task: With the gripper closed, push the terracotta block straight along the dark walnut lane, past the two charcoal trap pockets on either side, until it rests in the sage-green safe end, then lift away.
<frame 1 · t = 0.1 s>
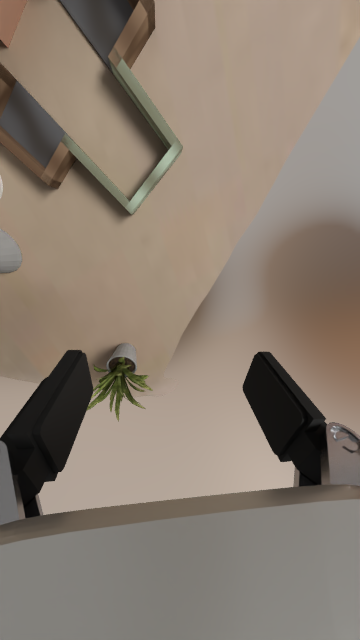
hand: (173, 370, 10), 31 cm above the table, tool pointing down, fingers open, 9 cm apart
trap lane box: (59, 69, 23), on the table
house plant: (124, 353, 48), on the table
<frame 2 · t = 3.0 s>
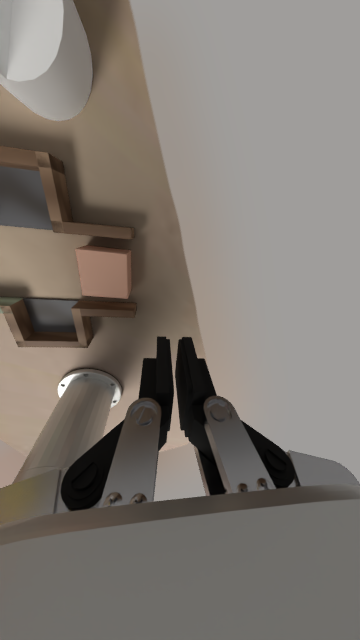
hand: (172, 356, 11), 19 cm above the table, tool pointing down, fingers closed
terracotta block: (111, 268, 26), on the table
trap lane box: (50, 267, 25), on the table
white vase: (42, 53, 16), on the table
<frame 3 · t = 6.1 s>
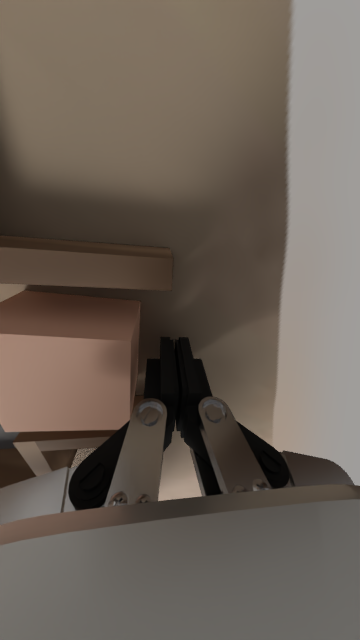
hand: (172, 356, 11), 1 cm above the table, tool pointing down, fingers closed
terracotta block: (91, 339, 11), on the table
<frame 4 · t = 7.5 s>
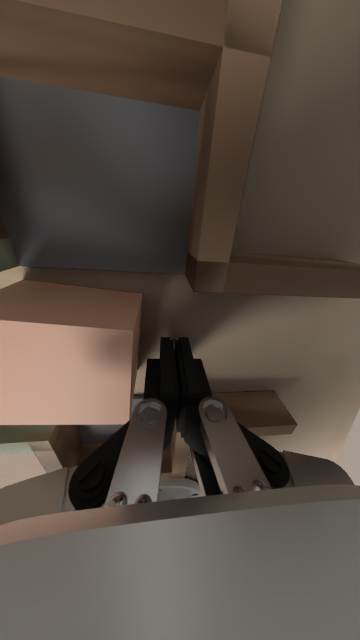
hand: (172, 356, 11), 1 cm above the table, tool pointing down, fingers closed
terracotta block: (90, 332, 11), on the table, touching gripper
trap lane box: (133, 345, 12), on the table
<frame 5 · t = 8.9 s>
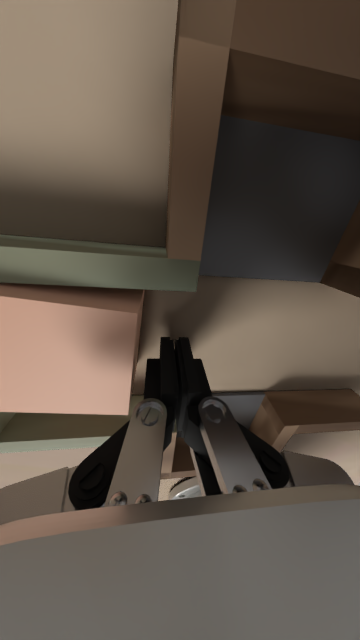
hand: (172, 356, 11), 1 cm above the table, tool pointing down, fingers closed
terracotta block: (91, 320, 11), on the table
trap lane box: (247, 346, 13), on the table
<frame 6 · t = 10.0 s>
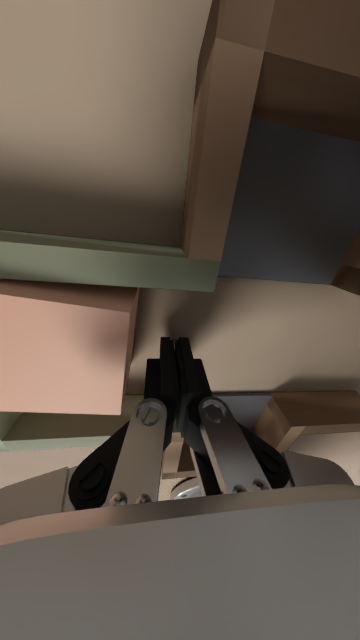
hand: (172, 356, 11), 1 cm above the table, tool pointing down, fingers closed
terracotta block: (84, 319, 10), on the table
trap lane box: (255, 347, 13), on the table
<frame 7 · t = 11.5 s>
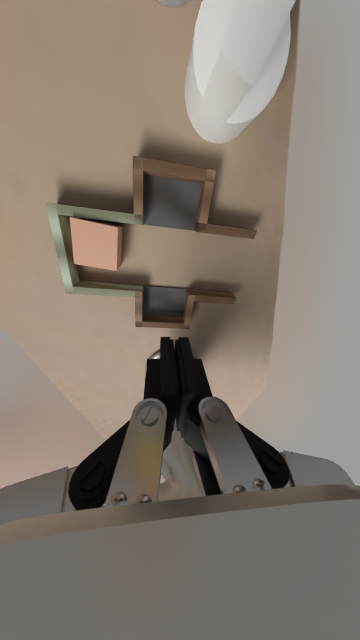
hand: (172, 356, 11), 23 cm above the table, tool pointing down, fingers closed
terracotta block: (102, 242, 28), on the table
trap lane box: (173, 260, 30), on the table
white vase: (221, 93, 21), on the table
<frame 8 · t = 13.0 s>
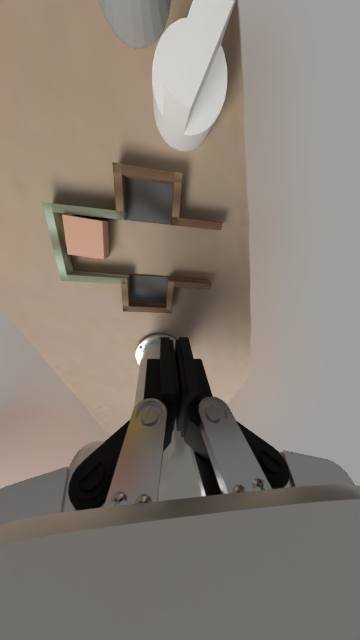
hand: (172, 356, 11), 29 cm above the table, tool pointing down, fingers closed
terracotta block: (92, 236, 33), on the table
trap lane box: (154, 251, 35), on the table
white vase: (184, 111, 26), on the table
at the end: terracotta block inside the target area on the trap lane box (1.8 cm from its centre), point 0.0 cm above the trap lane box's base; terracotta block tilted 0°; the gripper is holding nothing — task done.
